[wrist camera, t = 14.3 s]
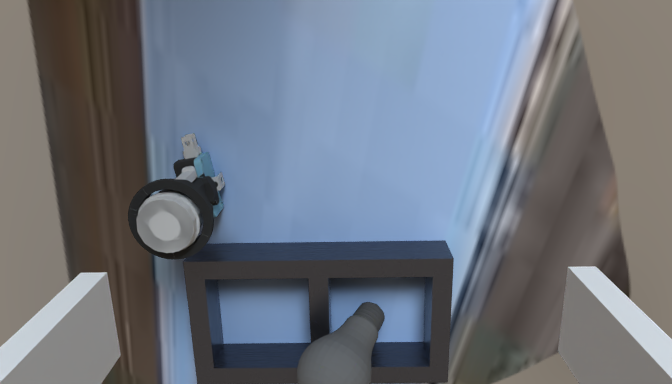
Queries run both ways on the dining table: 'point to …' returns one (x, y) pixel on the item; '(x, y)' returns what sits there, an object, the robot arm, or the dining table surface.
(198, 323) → the rectangular frame
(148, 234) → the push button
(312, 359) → the light bulb
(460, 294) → the dining table surface
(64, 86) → the dining table surface
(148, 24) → the dining table surface
